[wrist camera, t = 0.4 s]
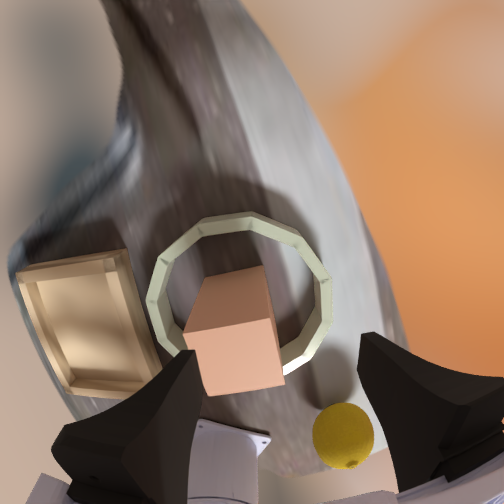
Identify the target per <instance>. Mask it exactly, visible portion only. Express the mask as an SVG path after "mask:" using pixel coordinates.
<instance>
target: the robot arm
mask: <svg viewBox="0 0 504 504" xmlns="http://www.w3.org/2000/svg"><path fill="white" fill-rule="evenodd" d="M357 372H358V375H359V378H360V381H361V384H362V387H363V389H364V391H365V394H366V396H367V398H368V400H369V402H370V404H371V406H372V408H373V410H374V412H375V414H376V416H377V418H378V420H379V422H380V424H381V426H382V429H383V431H384V434H385V437H386V440H387V444H388V447H389V450H390V454H391V458H392V461H393V465H394V469H395V474H396V479H397V484H398V490H399V493H398V494H395V493H394V492H389V491H383V490H381V491H376V492H370V493H365V494H361V495H357V496H353V497H349V498H345V499H340V500H334V501H329V502H324V503H318V504H503V503H504V433H503V431H502V430H504V424H503V423H502V422H501V421H502V419H503V417H504V378H503V377H491V376H479V375H472V374H467V373H462V372H458V371H454V370H450V369H447V368H444V367H441V366H438V365H436V364H433V363H430V362H428V361H426V360H424V359H422V358H420V357H418V356H416V355H413V354H412V353H410V352H408V351H406V350H404V349H403V348H401V347H399V346H398V345H396V344H394V343H393V342H391V341H389V340H388V339H386V338H384V337H383V336H381V335H379V334H377V333H375V332H369V333H363V334H361V340H360V349H359V358H358V365H357ZM202 394H203V382H202V377H201V373H200V369H199V365H198V360H197V356H196V351H195V349H193V350H181V351H180V352H179V353H178V354H177V355H176V356H175V357H174V358H173V359H172V360H171V361H170V362H169V363H168V364H167V365H166V366H165V367H164V368H163V369H162V370H161V371H160V372H159V373H158V374H157V375H156V376H155V377H154V378H153V379H152V380H150V381H149V382H148V383H147V384H146V385H145V386H144V387H142V388H141V389H140V390H138V391H137V392H136V393H134V394H133V395H132V396H130V397H129V398H127V399H126V400H124V401H122V402H121V403H119V404H117V405H115V406H113V407H112V408H110V409H108V410H106V411H104V412H101V413H99V414H97V415H94V416H92V417H89V418H87V419H84V420H81V421H77V422H74V423H70V424H67V425H64V427H63V428H62V430H61V432H60V433H59V435H58V437H57V438H56V440H55V442H54V443H53V445H52V448H51V452H52V454H53V456H54V458H55V460H56V461H57V462H58V464H59V465H60V466H61V467H62V468H63V470H64V471H65V472H66V473H67V474H68V475H69V476H70V477H71V479H72V482H71V484H70V485H69V484H67V483H65V482H63V481H61V480H59V479H56V478H54V477H51V476H49V475H46V474H44V473H41V475H40V477H39V479H38V481H37V482H36V484H35V486H34V488H33V490H32V492H31V494H30V496H29V498H28V500H27V502H26V504H258V468H257V457H258V456H259V455H260V453H261V452H262V451H263V450H264V449H265V447H266V446H267V445H268V444H269V442H270V441H271V437H270V436H269V435H264V434H259V433H255V432H250V431H246V430H242V429H238V428H234V427H230V426H226V425H223V424H219V423H216V422H212V421H209V420H205V419H199V420H198V417H199V413H200V408H201V404H202ZM201 425H202V426H201Z"/></svg>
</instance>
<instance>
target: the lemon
mask: <svg viewBox="0 0 504 504" xmlns="http://www.w3.org/2000/svg"><path fill="white" fill-rule="evenodd" d="M312 437H313V444H314V447H315V449H316V451H317V453H318V455H319V457H320V458H321V460H322V461H323V462H324V463H326V464H327V465H329V466H331V467H333V468H337V469H348V468H349V469H353V468H355V467H356V466H357V465H359V464H361V463H362V462H363V461H364V460H365V459H366V458H367V457H368V456H369V454H370V453H371V451H372V448H373V444H374V431H373V426H372V423H371V421H370V419H369V417H368V415H367V414H366V413H365V412H364V411H363V410H362V409H361V408H360V407H358V406H356V405H354V404H351V403H336V404H333V405H330V406H329V407H327V408H325V409H324V410H323V411H322V412H321V413H320V414H319V415H318V417H317V418H316V420H315V423H314V425H313V436H312Z"/></svg>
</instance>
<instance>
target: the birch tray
mask: <svg viewBox="0 0 504 504" xmlns="http://www.w3.org/2000/svg"><path fill="white" fill-rule="evenodd" d="M15 274H16V277H17V280H18V284H19V287H20V290H21V293H22V296H23V299H24V301H25V304H26V307H27V310H28V312H29V315H30V318H31V320H32V323H33V325H34V327H35V330H36V332H37V335H38V337H39V339H40V342H41V344H42V346H43V348H44V350H45V352H46V355H47V357H48V359H49V361H50V363H51V365H52V367H53V369H54V371H55V373H56V375H57V377H58V378H59V380H60V382H61V384H62V386H63V388H64V389H65V391H66V393H67V394H75V395H82V396H91V397H101V398H112V399H127V398H129V397H130V396H132V395H133V394H134V393H136V392H137V391H138V390H140V389H141V388H142V387H144V386H145V385H146V384H147V383H148V382H149V381H150V380H152V379H153V378H154V377H155V376H156V375H157V374H158V373H159V372H160V371H161V370H162V369H163V368H162V365H161V363H160V360H159V357H158V354H157V351H156V348H155V346H154V343H153V340H152V337H151V333H150V330H149V327H148V324H147V321H146V318H145V314H144V311H143V308H142V304H141V301H140V297H139V294H138V290H137V287H136V283H135V279H134V275H133V271H132V267H131V263H130V259H129V255H128V251H127V248H125V249H119V250H113V251H107V252H100V253H94V254H88V255H83V256H77V257H71V258H65V259H59V260H54V261H48V262H42V263H37V264H31V265H29V266H28V267H26V268H24V269H22V270H20V271H19V272H17V273H15Z"/></svg>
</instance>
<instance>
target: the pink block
mask: <svg viewBox="0 0 504 504" xmlns="http://www.w3.org/2000/svg"><path fill="white" fill-rule="evenodd" d="M183 336H184V339H185V342H186V344H187V347H188V349H189V350H193V349H195V351H196V356H197V360H198V365H199V369H200V373H201V377H202V382H203V385H204V388H205V390H206V392H207V394H208V396H216V395H224V394H232V393H239V392H246V391H252V390H258V389H264V388H269V387H275V386H280V385H285V380H284V373H283V367H282V360H281V354H280V347H279V341H278V335H277V328H276V322H275V316H274V312H273V307H272V303H271V298H270V294H269V289H268V285H267V280H266V276H265V271H264V267H263V265H261V266H257V267H252V268H247V269H243V270H238V271H233V272H229V273H224V274H219V275H215V276H210V277H205V278H204V281H203V283H202V286H201V288H200V291H199V293H198V296H197V298H196V301H195V303H194V306H193V308H192V311H191V313H190V316H189V318H188V321H187V323H186V326H185V329H184V331H183Z"/></svg>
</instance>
